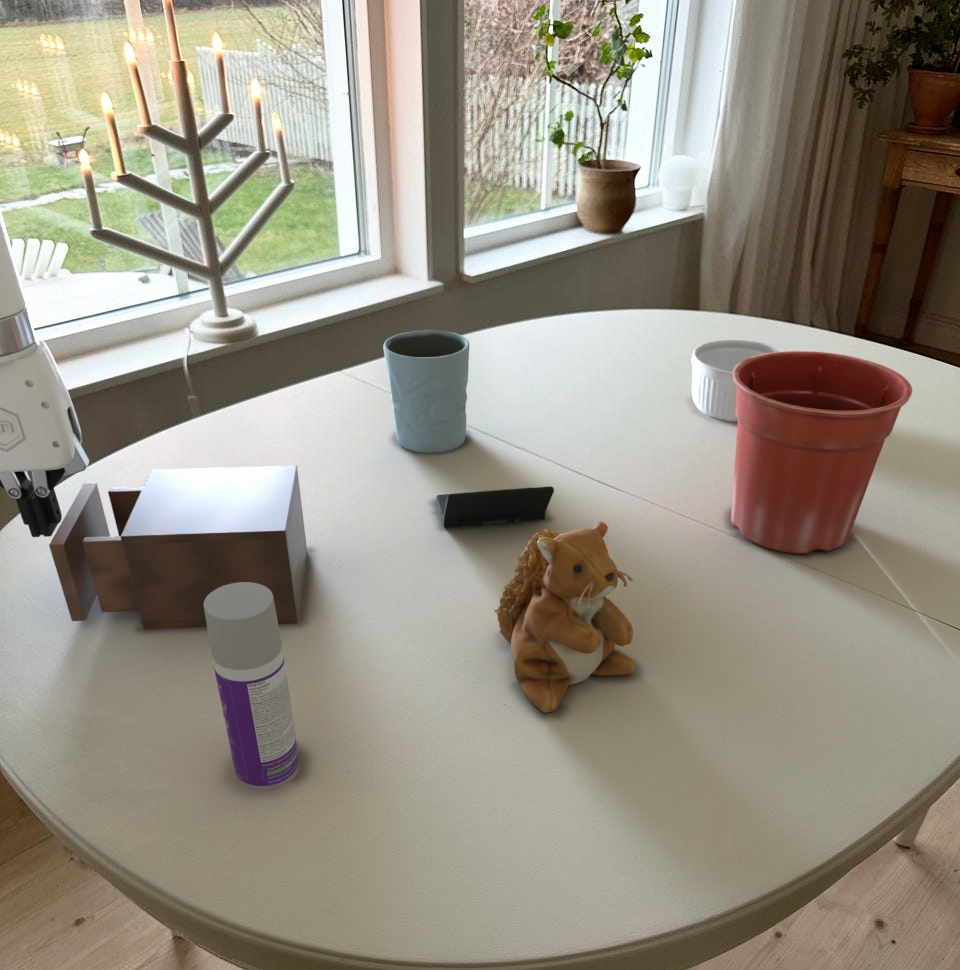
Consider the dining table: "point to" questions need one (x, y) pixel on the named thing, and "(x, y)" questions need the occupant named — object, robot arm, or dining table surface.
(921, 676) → the dining table surface
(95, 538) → the drawer
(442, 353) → the light blue cup
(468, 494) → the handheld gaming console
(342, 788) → the dining table surface
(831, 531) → the flower pot
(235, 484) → the cabinet
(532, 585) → the stuffed squirrel
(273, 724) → the container
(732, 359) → the ramekin
